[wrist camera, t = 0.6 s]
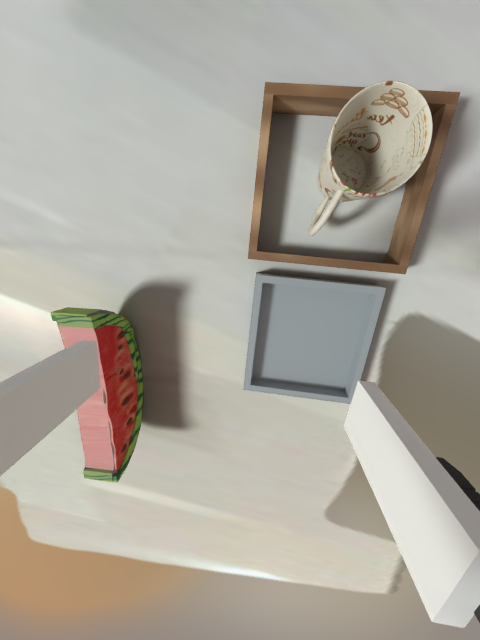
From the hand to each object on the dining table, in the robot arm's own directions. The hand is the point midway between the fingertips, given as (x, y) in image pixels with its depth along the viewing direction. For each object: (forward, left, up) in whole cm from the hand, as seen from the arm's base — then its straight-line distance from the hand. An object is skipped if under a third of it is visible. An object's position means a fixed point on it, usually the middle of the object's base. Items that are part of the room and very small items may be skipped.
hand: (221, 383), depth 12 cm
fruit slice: (+16, -20, -25) cm, 35 cm away
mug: (-14, +9, -24) cm, 30 cm away
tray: (+6, +9, -24) cm, 27 cm away
